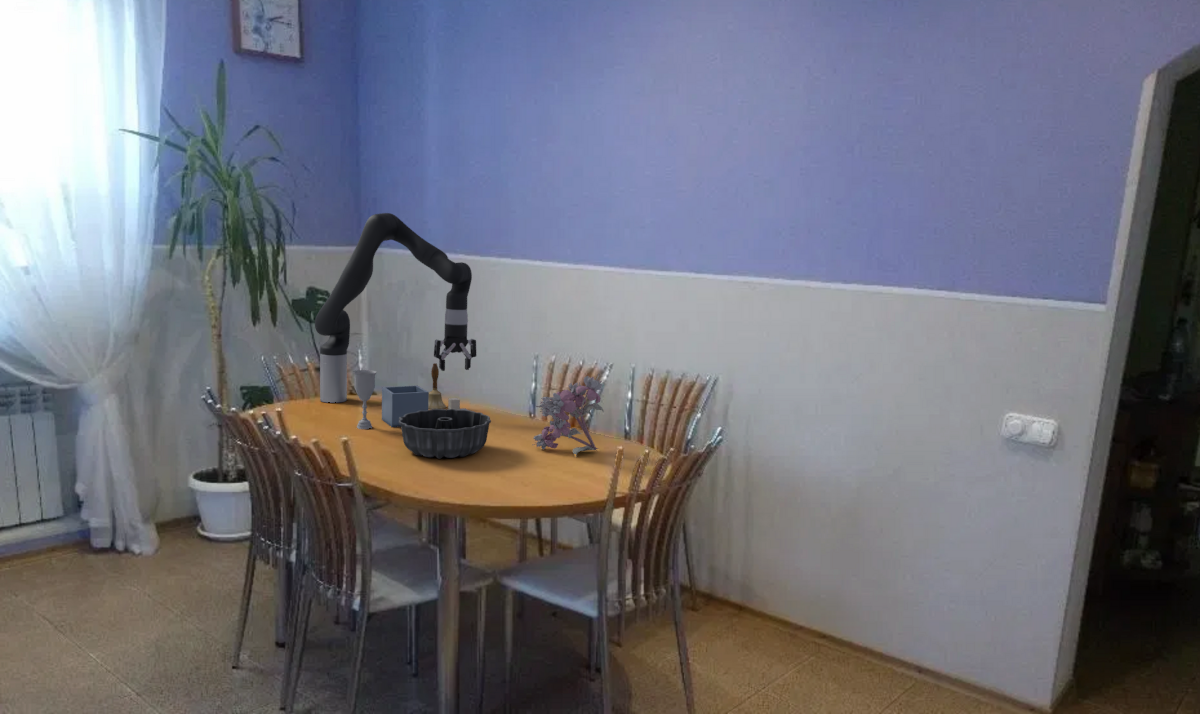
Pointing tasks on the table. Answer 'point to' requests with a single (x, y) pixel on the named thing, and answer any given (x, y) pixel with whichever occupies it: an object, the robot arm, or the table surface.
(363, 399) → the chalice
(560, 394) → the flower
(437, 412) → the bundt pan
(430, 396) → the hand bell
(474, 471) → the table surface
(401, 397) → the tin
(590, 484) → the table surface
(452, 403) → the lid
